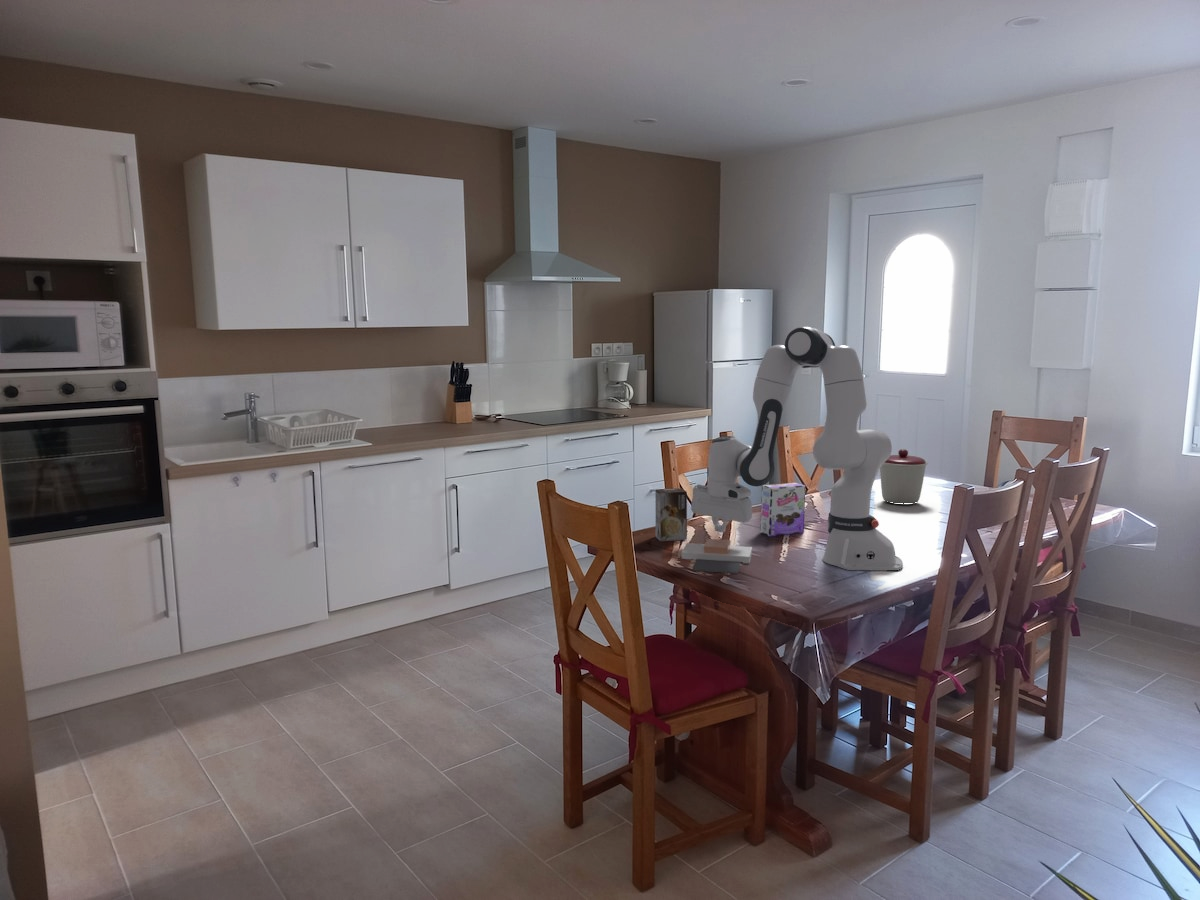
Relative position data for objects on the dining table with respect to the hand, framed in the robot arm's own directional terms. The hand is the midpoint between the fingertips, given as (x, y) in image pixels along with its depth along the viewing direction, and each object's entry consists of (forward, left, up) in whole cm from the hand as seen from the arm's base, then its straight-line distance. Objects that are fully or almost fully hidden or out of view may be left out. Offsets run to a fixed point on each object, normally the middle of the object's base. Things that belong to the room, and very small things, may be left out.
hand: (720, 531), depth 268 cm
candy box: (-18, -23, -5) cm, 30 cm away
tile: (0, +11, -3) cm, 11 cm away
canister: (-61, -82, -5) cm, 102 cm away
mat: (-1, +22, -5) cm, 23 cm away
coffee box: (+17, -7, -5) cm, 19 cm away
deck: (0, +11, -5) cm, 12 cm away
